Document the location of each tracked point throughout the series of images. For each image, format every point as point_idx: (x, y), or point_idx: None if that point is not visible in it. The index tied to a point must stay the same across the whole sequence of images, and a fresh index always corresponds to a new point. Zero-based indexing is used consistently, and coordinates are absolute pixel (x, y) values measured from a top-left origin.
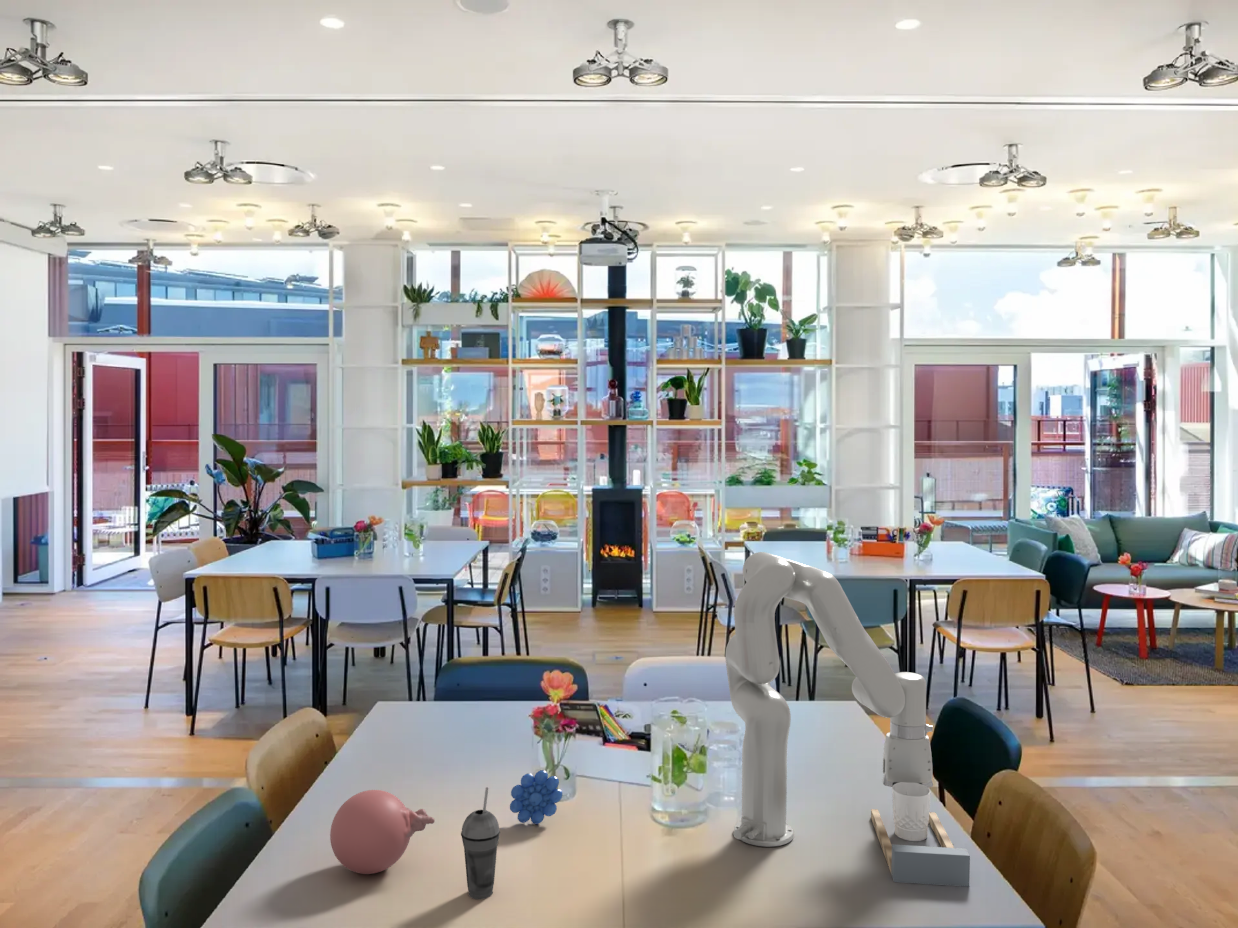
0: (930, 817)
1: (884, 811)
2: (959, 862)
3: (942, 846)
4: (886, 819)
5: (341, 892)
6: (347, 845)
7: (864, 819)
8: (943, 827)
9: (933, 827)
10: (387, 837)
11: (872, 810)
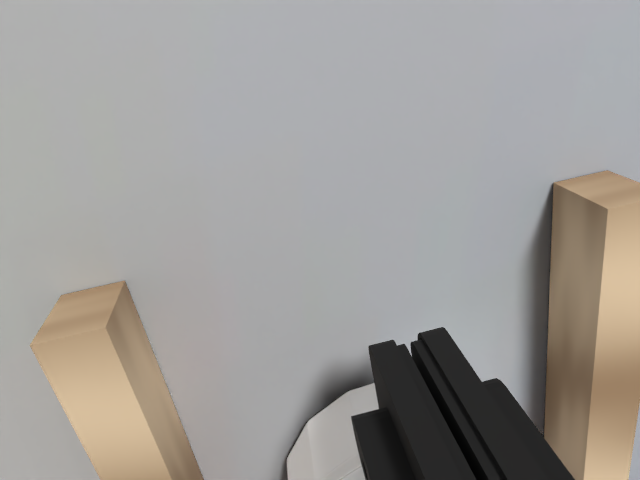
0: (589, 283)
1: (161, 93)
2: None
3: None
4: (205, 279)
5: None
6: None
7: (14, 348)
8: (631, 447)
9: (562, 361)
10: None
11: (56, 371)
